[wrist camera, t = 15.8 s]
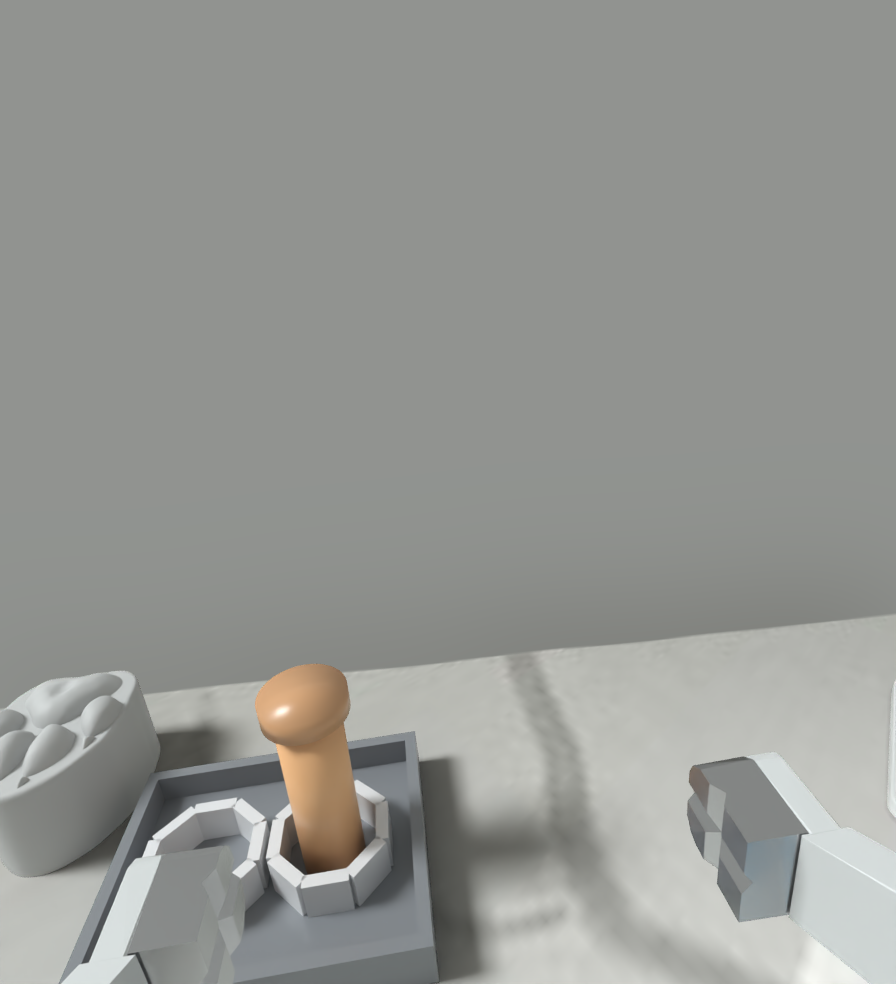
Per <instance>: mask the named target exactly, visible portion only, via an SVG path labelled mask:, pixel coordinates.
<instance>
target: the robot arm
mask: <svg viewBox="0 0 896 984" xmlns="http://www.w3.org/2000/svg"><path fill="white" fill-rule="evenodd" d="M689 783H690V785H691V787H692V788H693V790H694V792H695V793H694V794H693V795H692V796H691V797H690V799H689V800H688V813H687V816H688V820H689V825H690V829H691V833H692V836H693V838H694V841H695V843H696V846H697V847H698V849H699V851H700V853H701V855H702V857H703V859H704V860H706V861H707V862H709V863H710V864H712V865H713V866H715V867H716V868H718V879H717V884H718V886H719V888H720V890H721V891H722V893H723V895H724V897H725V899H726V900H727V902H728V904H729V906H730V908H731V909H732V911H733V913H734V915H735V917H736V918H737V920H738V922H744V921H751V920H757V919H764V918H770V917H777V916H783V915H789V918H790V919H791V920H792V921H794V922H795V923H796V924H797V925H798V926H800V927H801V928H802V929H803V930H805V931H806V932H807V933H808V934H809V935H811V936H812V937H813V938H814V939H816V940H817V941H818V942H819V943H820V944H822V945H823V946H824V947H825V948H827V949H828V950H829V951H830V952H832V953H833V954H834V955H835V956H836V957H838V958H839V959H840V960H841V961H843V962H844V963H845V964H846V965H847V966H849V967H850V968H851V969H852V970H854V971H855V972H856V973H857V974H858V975H860V976H861V977H862V978H863V979H865V980H866V981H867V982H868V983H869V984H896V852H894V851H892V850H890V849H889V848H887V847H885V846H883V845H881V844H879V843H878V842H876V841H874V840H872V839H870V838H869V837H867V836H865V835H863V834H861V833H859V832H858V831H856V830H854V829H852V828H850V827H846V828H840V826H839V825H838V824H837V823H836V822H835V820H834V819H833V818H832V817H831V816H830V814H829V813H828V812H827V811H826V809H825V808H824V807H823V806H822V805H821V803H820V802H819V801H818V800H817V799H816V797H815V796H814V795H813V794H812V793H811V791H810V790H809V789H808V788H807V787H806V785H805V784H804V783H803V782H802V781H801V779H800V778H799V777H798V776H797V775H796V773H795V772H794V771H793V770H792V769H791V767H790V766H789V765H788V764H787V763H786V761H785V760H784V759H783V758H782V757H781V755H779V754H777V753H776V752H769V753H763V754H758V755H752V756H747V757H738V758H732V759H727V760H721V761H716V762H711V763H705V764H700V765H694V766H692V768H691V770H690V774H689ZM887 806H888V809H889V811H890V812H891V813H892V815H893V816H894V817H895V818H896V680H895V682H894V684H893V687H892V691H891V713H890V738H889V764H888V790H887ZM233 863H234V857H233V854H232V852H231V849H230V846H217V847H210V848H203V849H196V850H189V851H182V852H175V853H167V854H163V855H156V856H149V857H143V858H136V859H135V860H134V861H133V862H132V864H131V865H130V866H129V867H128V869H127V871H126V873H125V876H124V878H123V881H122V883H121V885H120V888H119V890H118V893H117V895H116V898H115V900H114V903H113V905H112V908H111V910H110V912H109V915H108V917H107V920H106V922H105V925H104V927H103V930H102V932H101V934H100V937H99V939H98V942H97V944H96V947H95V949H94V952H93V954H92V956H91V959H90V961H89V963H84V964H79V965H78V966H77V967H76V968H75V969H74V971H73V972H72V973H71V974H70V975H69V976H68V977H67V978H66V979H65V980H64V981H63V982H62V983H61V984H233V980H234V975H235V970H234V967H233V964H232V961H231V958H230V955H231V954H232V953H233V952H234V950H235V949H236V948H237V946H238V945H239V944H240V942H241V939H242V933H243V928H244V919H245V897H244V889H243V885H242V882H241V879H240V877H238V876H236V875H235V874H233V873H232V868H233Z"/></svg>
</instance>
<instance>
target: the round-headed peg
mask: <svg viewBox="0 0 896 984" xmlns="http://www.w3.org/2000/svg"><path fill="white" fill-rule="evenodd" d="M255 708H256V712H257V716H258V720H259V724H260V728H261V731H262V733H263V735H264V736H265V737H266V738H267V739H268V740H270V741H272V742H274V743H276V747H277V751H278V755H279V759H280V764H281V768H282V772H283V776H284V780H285V785H286V789H287V793H288V797H289V801H290V806H291V810H292V814H293V818H294V822H295V827H296V831H297V835H298V839H299V843H300V848H301V852H302V856H303V860H304V864H305V869H306V872H307V874H308V875H310V874H316V873H322V872H327V871H333V870H339V869H345V868H347V867H348V866H349V865H350V864H351V863H352V862H353V861H354V860H355V859H356V858H357V857H358V856H359V854H360V853H361V852H362V851H363V850H364V849H365V848H366V844H365V839H364V833H363V828H362V822H361V817H360V811H359V806H358V800H357V795H356V789H355V784H354V778H353V773H352V767H351V762H350V756H349V751H348V745H347V740H346V734H345V728H344V723H343V722H344V721H345V719H346V718H347V716H348V714H349V711H350V698H349V692H348V686H347V681H346V678H345V676H344V675H343V674H342V672H340V671H339V670H338V669H336V668H334V667H331V666H328V665H323V664H307V665H301V666H297V667H294V668H290V669H288V670H285V671H283V672H281V673H279V674H278V675H276V676H274V677H273V678H272V679H270V680H269V681H268V682H267V683H266V684H265V685H264V686H263V687H262V688H261V690H260V691H259V693H258V695H257V697H256V701H255Z"/></svg>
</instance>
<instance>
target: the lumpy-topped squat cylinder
mask: <svg viewBox="0 0 896 984" xmlns="http://www.w3.org/2000/svg"><path fill="white" fill-rule="evenodd" d="M160 751H161V747H160V743H159V740H158V737H157V734H156V732H155V729H154V726H153V723H152V720H151V717H150V714H149V711H148V708H147V705H146V702H145V699H144V697H143V694H142V691H141V688H140V685H139V682H138V679H137V678H136V676H134V675H133V674H132V673H130V672H127V671H113V672H107V673H95V674H92V675H88V676H84V677H79V678H61V679H52V680H48V681H46V682H44V683H42V684H40V685H38V686H36V687H35V688H33V689H31V690H29V691H28V692H26V693H24V694H23V695H21V696H20V697H19V698H17V699H16V700H15V701H13V702H12V703H11V704H10V705H9V706H8V707H7V708H6V709H3V710H0V859H1V861H2V863H3V865H4V866H5V867H6V868H7V869H8V870H9V871H10V872H11V873H13V874H15V875H17V876H20V877H37V876H42V875H45V874H48V873H51V872H54V871H56V870H58V869H60V868H62V867H64V866H66V865H68V864H70V863H71V862H73V861H75V860H76V859H78V858H80V857H81V856H83V855H84V854H86V853H87V852H89V851H90V850H92V849H93V848H95V847H96V846H97V845H98V844H100V843H101V842H102V841H103V840H104V839H105V838H107V837H108V836H109V835H110V834H111V833H112V832H113V831H114V830H115V829H116V828H117V827H118V826H119V825H121V824H122V823H123V822H124V821H125V820H126V819H127V818H128V817H129V816H130V814H131V813H132V812H133V811H134V810H135V808H136V805H137V803H138V801H139V798H140V796H141V794H142V792H143V789H144V787H145V785H146V782H147V780H148V778H149V776H150V773H154V772H155V769H156V765H157V762H158V759H159V756H160Z"/></svg>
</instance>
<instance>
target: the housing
mask: <svg viewBox="0 0 896 984" xmlns="http://www.w3.org/2000/svg"><path fill="white" fill-rule="evenodd" d="M347 745H348V751H349V756H350V762H351V767H352V773H353V778H354V784H355V789H356V795H357V800H358V806H359V811H360V817H361V822H362V828H363V833H364V839H365V844H366V848H365V849H364V850H363V851H362V852H361V853H360V854H359V856H358V857H357V858H356V859H355V860H354V861H353V862H352V863H351V864H350V865H349V866H348V867H347V868H345V869H339V870H333V871H327V872H322V873H316V874H310V875H308V874H307V872H306V869H305V864H304V860H303V856H302V852H301V848H300V843H299V839H298V835H297V831H296V827H295V822H294V818H293V814H292V810H291V806H290V801H289V797H288V793H287V789H286V785H285V780H284V776H283V772H282V768H281V764H280V759H279V755H278V753H275V754H268V755H262V756H256V757H249V758H243V759H237V760H231V761H224V762H218V763H212V764H205V765H199V766H193V767H186V768H180V769H174V770H168V771H161V772H155V773H150V776H149V778H148V780H147V782H146V785H145V787H144V789H143V792H142V794H141V796H140V798H139V801H138V803H137V805H136V808H135V810H134V812H133V814H132V817H131V819H130V821H129V824H128V826H127V828H126V830H125V833H124V835H123V837H122V840H121V842H120V844H119V847H118V849H117V851H116V853H115V856H114V858H113V860H112V863H111V865H110V867H109V869H108V872H107V874H106V876H105V879H104V881H103V883H102V885H101V888H100V890H99V892H98V895H97V897H96V899H95V901H94V904H93V906H92V908H91V911H90V913H89V915H88V918H87V920H86V922H85V924H84V927H83V929H82V931H81V934H80V936H79V938H78V940H77V943H76V945H75V947H74V950H73V952H72V954H71V956H70V959H69V961H68V963H67V966H66V968H65V970H64V972H63V975H62V977H61V979H60V982H59V984H61V983H62V982H63V981H64V980H65V979H66V978H67V977H68V976H69V975H70V974H71V973H72V972H73V971H74V969H75V968H76V967H77V966H78V965H79V964H84V963H89V961H90V959H91V956H92V954H93V952H94V949H95V947H96V944H97V942H98V939H99V937H100V934H101V932H102V930H103V927H104V925H105V922H106V920H107V917H108V915H109V912H110V910H111V908H112V905H113V903H114V900H115V898H116V895H117V893H118V890H119V888H120V885H121V883H122V881H123V878H124V876H125V873H126V871H127V869H128V867H129V866H130V865H131V864H132V862H133V861H134V860H135V859H136V858H143V857H149V856H156V855H163V854H167V853H175V852H182V851H189V850H196V849H203V848H210V847H217V846H230V849H231V852H232V854H233V857H234V863H233V868H232V873H233V874H235V875H236V876H238V877H240V879H241V882H242V885H243V889H244V897H245V919H244V928H243V933H242V939H241V942H240V944H239V945H238V946H237V948H236V949H235V950H234V952H233V953H232V954H231V955H230V958H231V961H232V964H233V967H234V970H235V975H234V980H233V984H432V983H437V982H439V973H438V962H437V951H436V940H435V929H434V919H433V908H432V897H431V886H430V875H429V864H428V853H427V842H426V831H425V820H424V809H423V798H422V787H421V776H420V765H419V757H418V750H417V743H416V736H415V731H413V732H407V733H401V734H394V735H388V736H382V737H375V738H369V739H363V740H357V741H350V742H347Z"/></svg>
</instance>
